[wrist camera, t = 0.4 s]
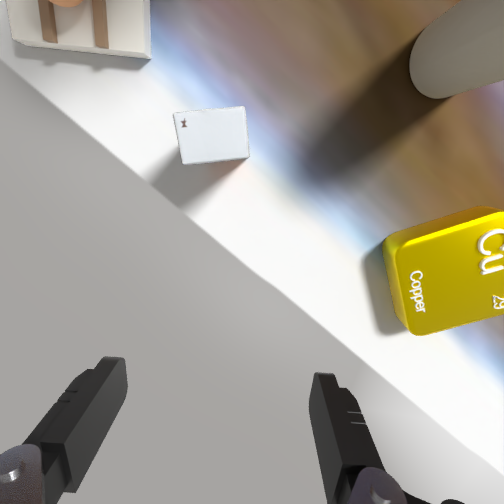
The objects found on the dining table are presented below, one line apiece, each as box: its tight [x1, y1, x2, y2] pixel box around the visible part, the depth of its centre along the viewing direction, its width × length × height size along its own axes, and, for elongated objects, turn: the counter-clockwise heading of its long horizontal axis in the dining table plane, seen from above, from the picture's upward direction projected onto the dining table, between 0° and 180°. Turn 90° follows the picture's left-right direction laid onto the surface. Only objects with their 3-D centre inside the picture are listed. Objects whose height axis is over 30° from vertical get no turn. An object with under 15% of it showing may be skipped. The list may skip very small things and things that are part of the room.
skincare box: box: [173, 106, 250, 165], centre depth 28 cm, size 6×4×12 cm
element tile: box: [382, 206, 504, 336], centre depth 37 cm, size 15×15×5 cm
